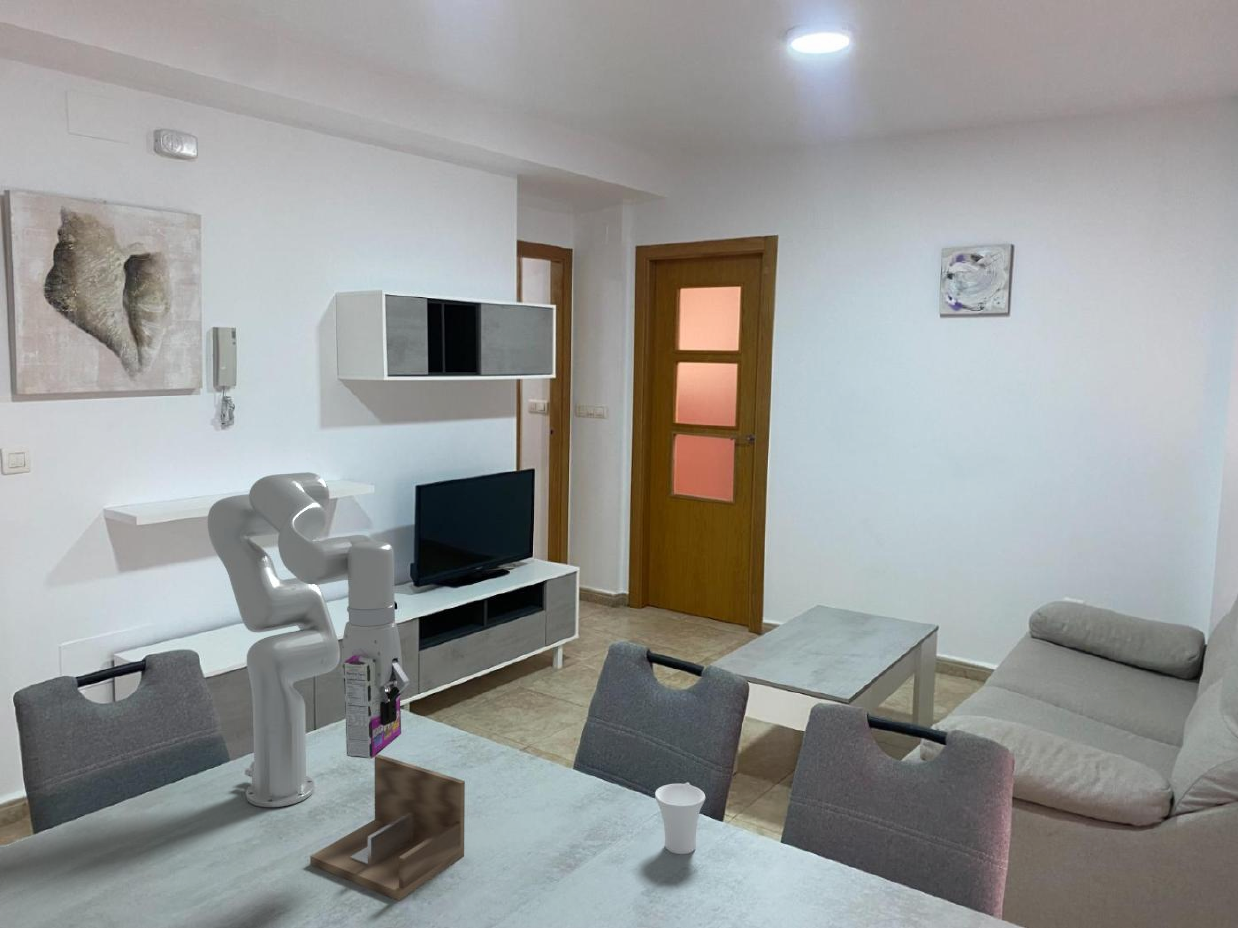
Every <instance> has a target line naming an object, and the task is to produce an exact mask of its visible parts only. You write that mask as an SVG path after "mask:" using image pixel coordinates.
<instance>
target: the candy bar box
mask: <svg viewBox="0 0 1238 928" xmlns="http://www.w3.org/2000/svg"><path fill="white" fill-rule="evenodd" d="M343 682H344V685H343V686H344V705H345V706H344V707H345V711H344V712H345V715H344V716H345V736H346V737H345V742H346V743H345V744H346V756H347V757H350V758H358V759H359V758H360V759H374V758H375V756H376V755H378V754H379V753H380V752H381V751H383V750H384V749H385V748H386V747H388V746H389V745H390V744H392V742H394V741H395V740H396V739H397V738H399V736H400V735H402V720H401V718H402V715H401V696H400V697H399V698H397V699H396V703H397V719H396V721H394V722H392V723H390V724H387V725H385V726H384V725H381V717H380V703H381V702H383V698H382V695H381V692H380V687H379V688H378V687H376V678H375V660H374V659H369V658H366V657H361V656H353V657H351V658H349V659H348V660H346V661H344V678H343ZM396 684H397V681H396ZM387 689H388V693H389V692H390V691H391V690H390V687H389V685H388V686H387Z"/></svg>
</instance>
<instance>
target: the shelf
mask: <svg viewBox="0 0 1238 928" xmlns="http://www.w3.org/2000/svg"><path fill="white" fill-rule="evenodd" d="M465 781H466V780H463V779H459V778H456V777H453V776H449V775H446V774H443V773H440V772H436V771H434V770H430V769H427V768H423V767H420V766H417V765H414V764H411V763H407V762H404V761H402V760H398V759H394V758H392V757H388V756H385V755H381V754H379V753H378V754H377V755H376V756H375V757H374V819H373V820H371V821H369V822H368V823H366V824H364V825H362V826H361V827H359V828H358V829H355V830H354V831H352V832H350V833H349V834H347V835H345V836H343V837H341V838H340V839H338V840H335V841H334V842H333V843H331V844H329V845H327V846H325V847H324V848H322V849H320V850H319V851H317V852H315V853H313V854H311V855H310V859H309V860H310V861H309V863H310V864H309V865H311V866H313V867H316V868H318V869H320V870H323V871H324V872H328V873H331V874H333V875H334V876H337V877H341V878H343V879H345V880H347V881H350V882H352V883H355V884H357V885H360V886H362V887H364V888H366V889H370V890H372V891H374V892H377V893H380V894H382V895H385V896H386V897H388V898H389V897H390V898H391V899H393V900H396V901H401V900H403V899H404V898H406V897H407V896H409V895H410V894H411V893H412V892H414V891H415V890H417V889H418V888H420V887H421V886H423V885H424V884H425V883H427V882H429V881H430V880H432V879H433V878H435V877H436V876H437V875H439V874H440V873H442V872H443V871H444V870H446V869H447V868H449V867H450V866H452V865H453V864H454V863H456V862H458V861H459V860H460V859H461V858H463V857H464V856H465V813H466V812H465V809H466V808H465V806H466V805H465V804H466V803H465V802H466V801H465V797H466V795H465V794H466V791H465V790H466V789H465V788H466V786H465V785H466V784H465V783H466V782H465ZM409 812H410V813H413V841H412V842H410V843H408V844H407V845H405V846H404V847H402V848H400V849H399V850H397V851H396V852H394V853H392V854H391V855H389V856H388V857H386V858H384V859H383V860H381V861H380V862H378V863H376V864H375V865H373V866H372V867H371V866H368V865H365V864H363V863H360V862H358V861H355V860H353V859H350V857H351V856H352V855H354V854H356V853H358V852H359V851H361V850H363V849H364V848H366V847H368V836H370V835H371V834H373V833H375V832H377V831H378V830H380V829H382V828H383V827H385V826H387V825H389V824H390V823H392V822H394V821H395V820H397V819H399V818H400V817H402V816H404V815H406V814H407V813H409Z"/></svg>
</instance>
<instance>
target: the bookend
mask: <svg viewBox="0 0 1238 928" xmlns="http://www.w3.org/2000/svg"><path fill="white" fill-rule="evenodd" d="M412 841H413V813H410V812H409V813H407V814H406V815H404V816H402V817H400V818H399V819H397V820H395V821H394V822H392V823H390V824H389V825H387V826H385V827H383V828H382V829H380V830H378V831H377V832H375V833H373V834H371V835H370V836H368V847H366V848H364V849H363V850H361V851H359V852H358V853H356V854H354V855H352V856H351V857H350V859H353V860H355V861H358V862H360V863H363V864H365V865H368V866H371V867H372V866H373V865H375V864H376V863H378V862H380V861H381V860H383V859H384V858H386V857H388V856H389V855H391V854H392V853H394V852H396V851H397V850H399V849H400V848H402V847H404V846H405V845H407V844H408V843H410V842H412Z"/></svg>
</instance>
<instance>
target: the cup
mask: <svg viewBox="0 0 1238 928" xmlns="http://www.w3.org/2000/svg"><path fill="white" fill-rule="evenodd" d="M654 797H655V801H656V803H657V805H658V807H659V810H660V812H661V817H662V818H661V819H662V820H663V827H664V828H663V829H664V846H665V848H666V849H667V850H668V851H669V852H671V853H673V854H675V855H676V854H677V855H688V854H692V853H693V852H694V850H696V847H697V840H696V839H697V826H698V820H699V817H700V812H701V809H702V807H703V805H704V803H705V800H706V795H705V793H704V791H703V790H701V789H700V788H699V787H696V786H694V785H691V784H690V782H686V783H670V784H666V785H662V786H660V787H658V788H657V789H656V790H655V793H654Z"/></svg>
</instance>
